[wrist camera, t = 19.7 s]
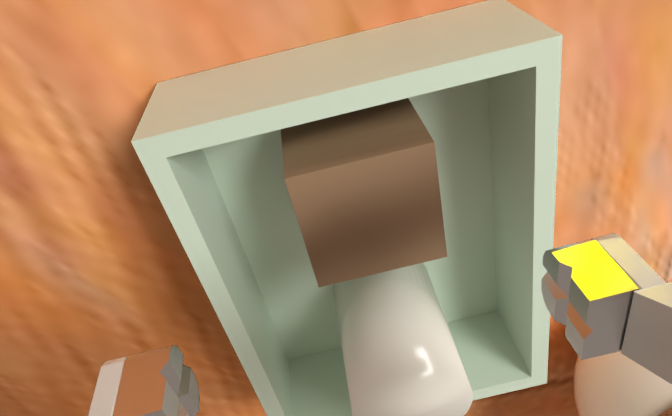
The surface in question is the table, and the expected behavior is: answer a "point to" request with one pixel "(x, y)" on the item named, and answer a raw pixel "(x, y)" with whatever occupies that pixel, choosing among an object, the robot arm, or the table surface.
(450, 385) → the white rounded cylinder
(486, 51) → the tote
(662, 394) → the lidded bowl
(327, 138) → the walnut block
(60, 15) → the table surface
